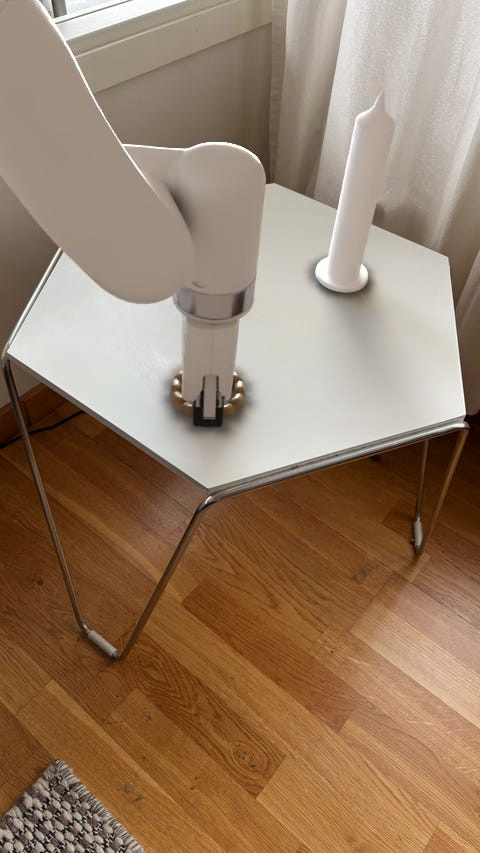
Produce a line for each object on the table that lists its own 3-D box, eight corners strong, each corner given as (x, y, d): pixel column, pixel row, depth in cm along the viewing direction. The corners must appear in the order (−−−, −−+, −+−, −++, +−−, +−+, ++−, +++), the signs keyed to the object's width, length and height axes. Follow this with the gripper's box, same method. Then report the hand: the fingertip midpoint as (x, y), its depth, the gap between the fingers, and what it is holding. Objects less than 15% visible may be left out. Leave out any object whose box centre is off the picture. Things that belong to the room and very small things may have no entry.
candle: (366, 296, 93) (415, 111, 74) (313, 288, 94) (348, 101, 75) (368, 264, 98) (415, 81, 79) (317, 256, 98) (351, 72, 79)
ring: (168, 420, 78) (168, 413, 77) (172, 365, 83) (172, 358, 82) (245, 422, 78) (246, 415, 77) (243, 368, 83) (244, 361, 83)
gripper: (175, 231, 69) (176, 364, 83) (168, 343, 59) (170, 473, 73) (252, 234, 69) (239, 366, 84) (258, 346, 59) (243, 474, 74)
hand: (207, 415), depth 78 cm, fingers closed on ring
